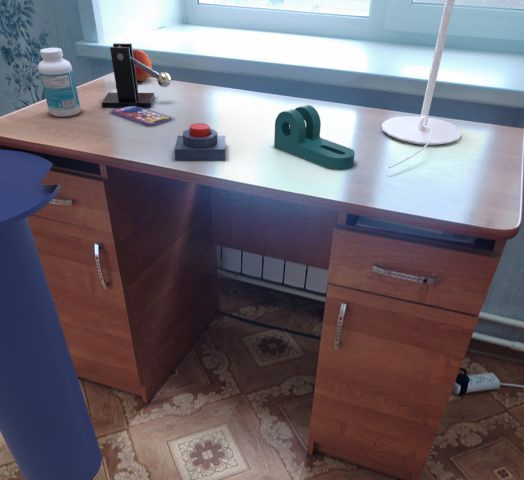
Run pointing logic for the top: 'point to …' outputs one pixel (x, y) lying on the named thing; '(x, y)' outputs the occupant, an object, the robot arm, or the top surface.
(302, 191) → the top surface
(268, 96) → the top surface
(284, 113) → the bracket
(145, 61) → the fruit
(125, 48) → the bracket
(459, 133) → the desk lamp
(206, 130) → the button
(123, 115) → the smartphone
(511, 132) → the top surface
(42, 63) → the pill bottle
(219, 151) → the button box
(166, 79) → the lever
